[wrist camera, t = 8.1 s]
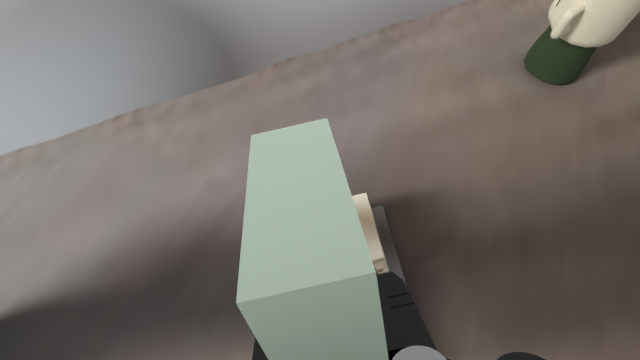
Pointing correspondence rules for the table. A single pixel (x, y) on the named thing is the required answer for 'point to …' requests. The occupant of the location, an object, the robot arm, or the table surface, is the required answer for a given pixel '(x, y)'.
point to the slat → (306, 253)
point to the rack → (378, 236)
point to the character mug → (576, 36)
